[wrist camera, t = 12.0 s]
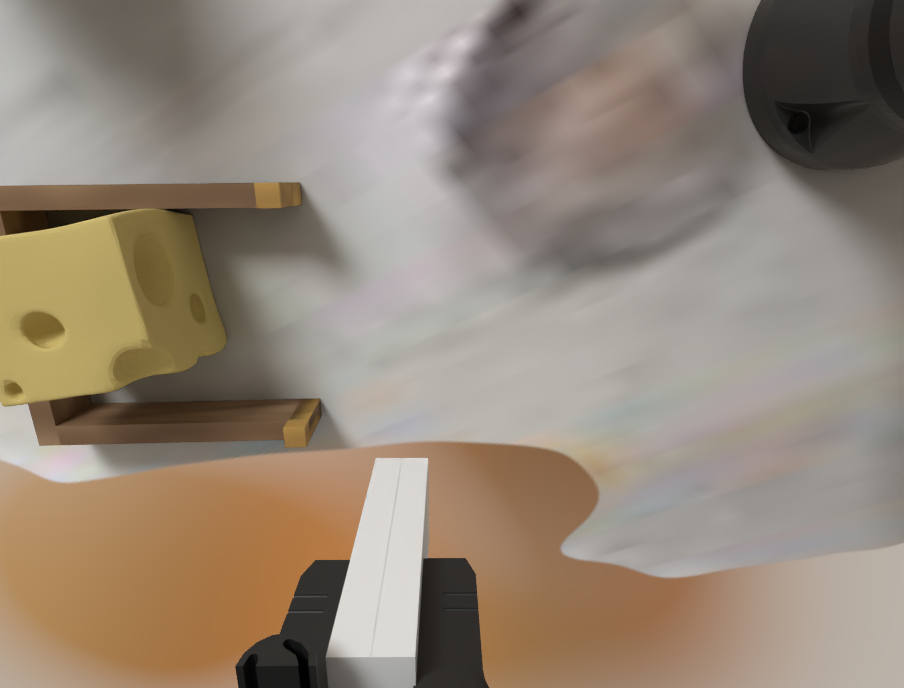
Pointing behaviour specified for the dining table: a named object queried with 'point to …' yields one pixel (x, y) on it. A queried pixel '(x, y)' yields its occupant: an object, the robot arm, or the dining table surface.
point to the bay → (157, 420)
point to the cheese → (103, 305)
